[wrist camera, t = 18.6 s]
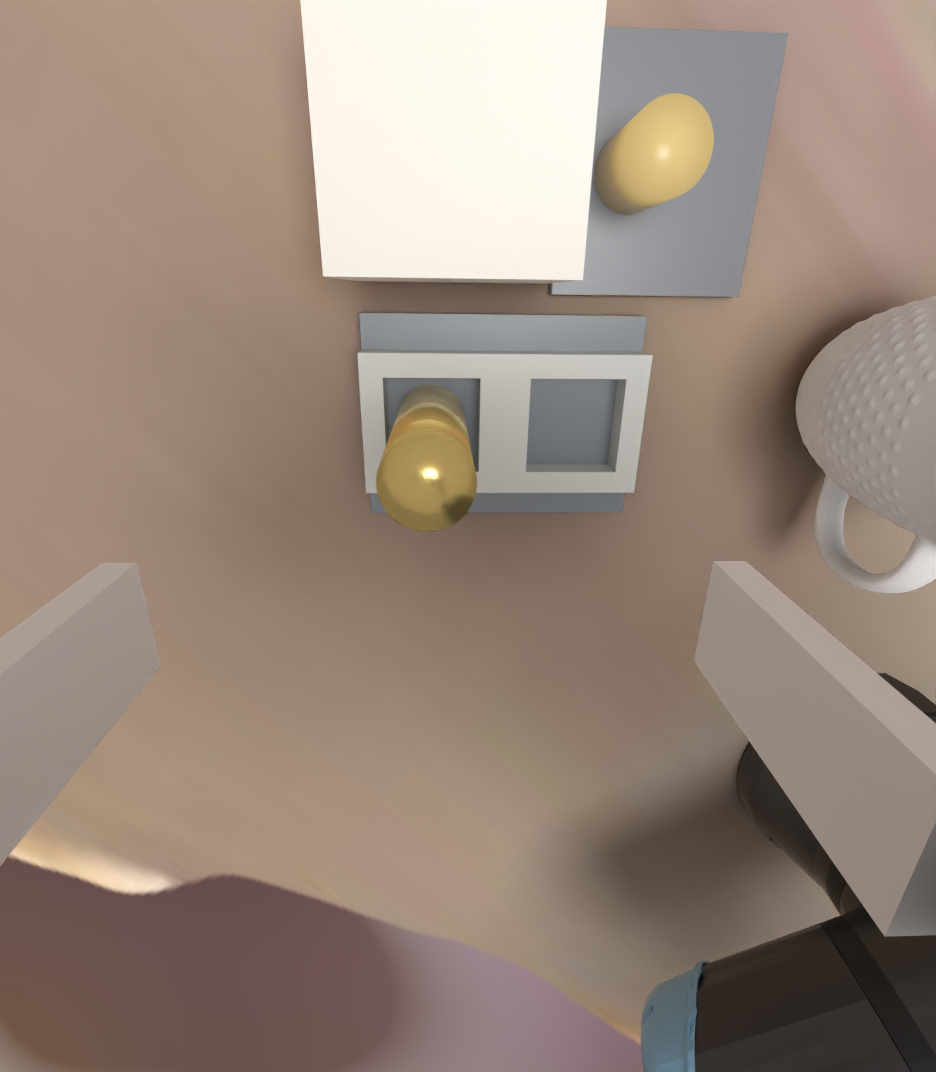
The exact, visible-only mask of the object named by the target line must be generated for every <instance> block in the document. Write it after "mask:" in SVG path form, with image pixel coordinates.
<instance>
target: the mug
mask: <svg viewBox="0 0 936 1072" xmlns="http://www.w3.org/2000/svg"><path fill="white" fill-rule="evenodd" d="M796 419H797V424H798V428H799V432H800V434H801V437H802V442H803V443H804V444H805V446H806V447H807V448H808V451H809V453H810V455H811V456H812V457H813V458H814V459H815V461H816V463H817V464H818V465H819V466H820V467H821V468H822V469H823V471H824V473H825V474H826V477H825V480H824V483H823V486H822V489H821V492H820V495H819V499H818V502H817V507H816V514H815V523H814V533H815V539H816V544H817V548H818V551H819V553H820V555H821V557H822V559H823V560H824V562H825V563H826V565H827V566H828V567H829V568H830V569H831V570H832V571H833V572H834V573H835V574H836V575H837V576H838V577H840V578H841V579H843V580H844V581H846V582H848V583H849V584H851V585H854V586H856V587H858V588H861V589H865V590H869V591H873V592H879V593H902V592H908V591H912V590H915V589H917V588H920V587H922V586H924V585H926V584H928V583H929V582H931V581H933V580H934V579H936V296H931V297H928V298H926V299H924V300H919V301H912V302H909V303H907V304H905V305H903V306H899V307H894V308H891V309H889V310H887V311H885V312H883V313H878V314H874V315H873V316H871V317H870V318H868V319H866V320H864V321H861V322H858V323H856V324H855V325H853V326H852V327H851V328H849V329H847V330H845V331H843V332H842V333H841V334H840V335H839V336H837V337H836V338H835V339H833V340H832V341H831V342H830V343H829V344H827V345H826V346H825V347H824V348H823V349H822V350H821V351H820V352H819V353H818V355H817V356H816V357H815V358H814V360H813V361H812V362H811V364H810V365H809V366H808V368H807V370H806V372H805V373H804V375H803V378H802V380H801V382H800V385H799V388H798V392H797V397H796ZM849 496H852V497H854V498H855V499H857V500H858V501H860V502H861V503H862V504H863V505H864V506H866V507H868V508H870V509H872V510H874V511H875V512H876V513H877V514H879V515H880V516H881V517H884V518H886V519H888V520H890V521H892V522H894V523H895V524H896V525H897V526H900V527H901V528H904V529H907V530H909V531H911V532H913V533H915V534H916V538H915V539H914V541H913V543H912V545H911V547H910V550H909V552H908V554H907V555H906V557H905V558H904V560H903V561H902V562H901V563H900V564H899V565H898V566H897V567H896V568H894V569H893V570H891V571H889V572H886V573H882V574H872V573H868V572H866V571H864V570H863V569H862V568H860V567H859V566H858V565H857V564H856V563H855V562H854V561H853V560H852V558H851V557H850V555H849V553H848V551H847V549H846V546H845V541H844V535H843V521H844V512H845V508H846V504H847V501H848V499H849Z"/></svg>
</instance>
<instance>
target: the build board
mask: <svg viewBox="0 0 936 1072" xmlns="http://www.w3.org/2000/svg"><path fill="white" fill-rule="evenodd" d="M359 317H360V334H361V351H359V352H358V353H357V357H358V372H359V388H360V404H361V420H362V436H363V451H364V467H365V483H366V493H370V500H371V513H387V512H386V511H385V509H384V508H383V506H382V504H381V502H380V500H379V498H378V494H377V489H376V475H377V471H378V467H379V464H380V462H381V459H382V456H383V453H384V450H385V448H386V445H387V442H388V439H389V437H390V434H391V431H392V428H393V425H394V423H395V420H396V417H397V414H398V412H399V409H400V406H401V404H402V401H403V400H404V398H405V397H406V395H407V394H408V393H409V392H410V391H412V390H413V389H415V388H417V387H419V386H422V385H426V384H436V385H440V386H443V387H445V388H447V389H449V390H450V391H452V392H453V393H454V394H455V395H456V396H457V397H458V399H459V401H460V402H461V405H462V407H463V411H464V416H465V421H466V426H467V431H468V436H469V441H470V446H471V451H472V456H473V461H474V467H475V472H476V477H477V491H476V495H475V499H474V501H473V504H472V505H471V507H470V509H469V510H468V512H467V513H560V512H622V507H623V499H624V493H634V489H635V482H636V475H637V467H638V460H639V453H640V445H641V438H642V431H643V423H644V416H645V409H646V401H647V394H648V387H649V379H650V372H651V365H652V357H653V355H650V354H647V353H643V345H644V337H645V329H646V321H647V316H639V315H560V314H474V313H389V312H361V313H359Z"/></svg>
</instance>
